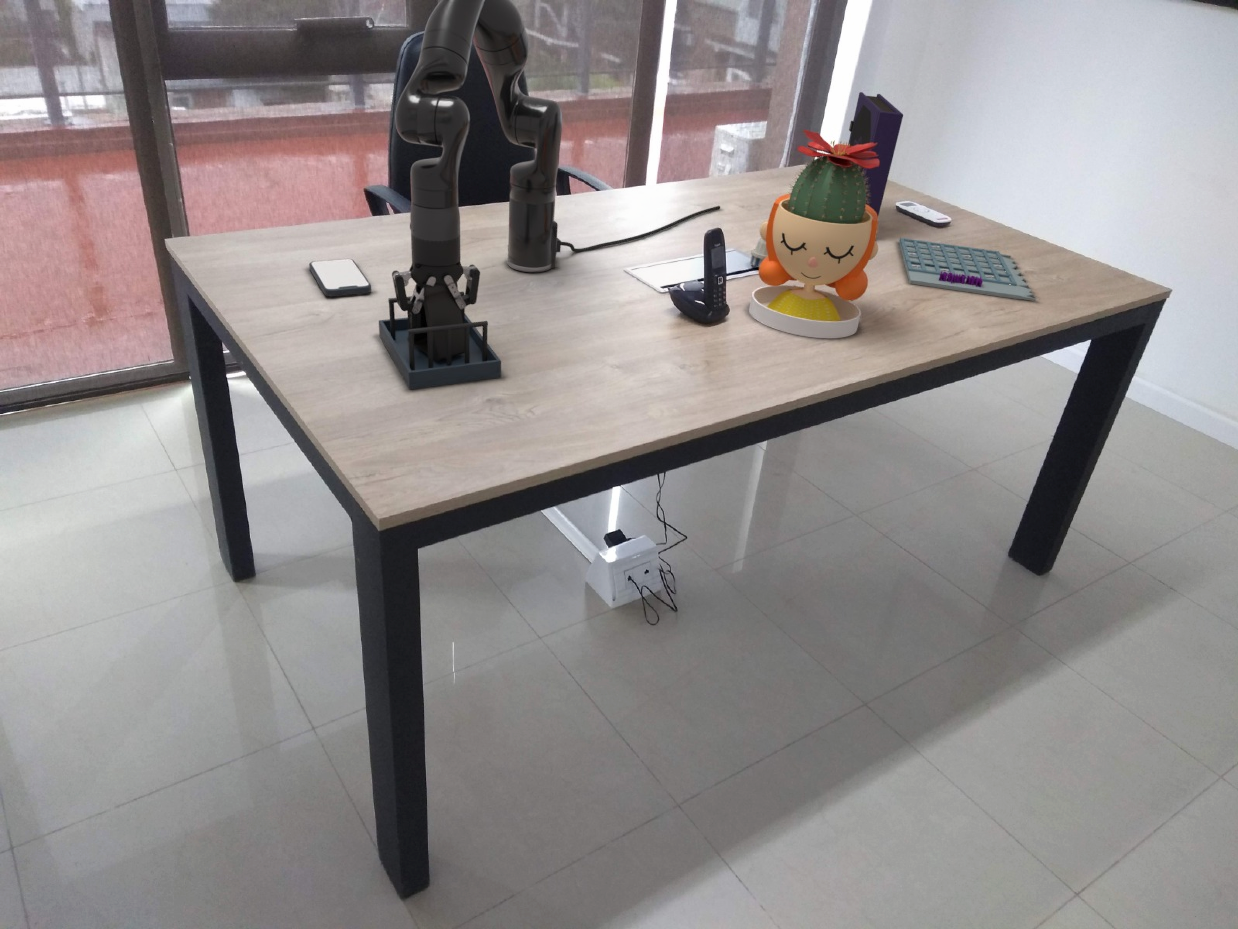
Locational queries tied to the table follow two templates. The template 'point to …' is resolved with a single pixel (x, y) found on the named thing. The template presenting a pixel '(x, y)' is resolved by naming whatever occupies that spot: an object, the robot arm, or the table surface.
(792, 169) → the table surface
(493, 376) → the drying rack
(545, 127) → the robot arm
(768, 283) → the potted cactus
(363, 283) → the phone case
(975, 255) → the calendar
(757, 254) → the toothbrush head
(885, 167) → the book
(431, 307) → the phone stand
